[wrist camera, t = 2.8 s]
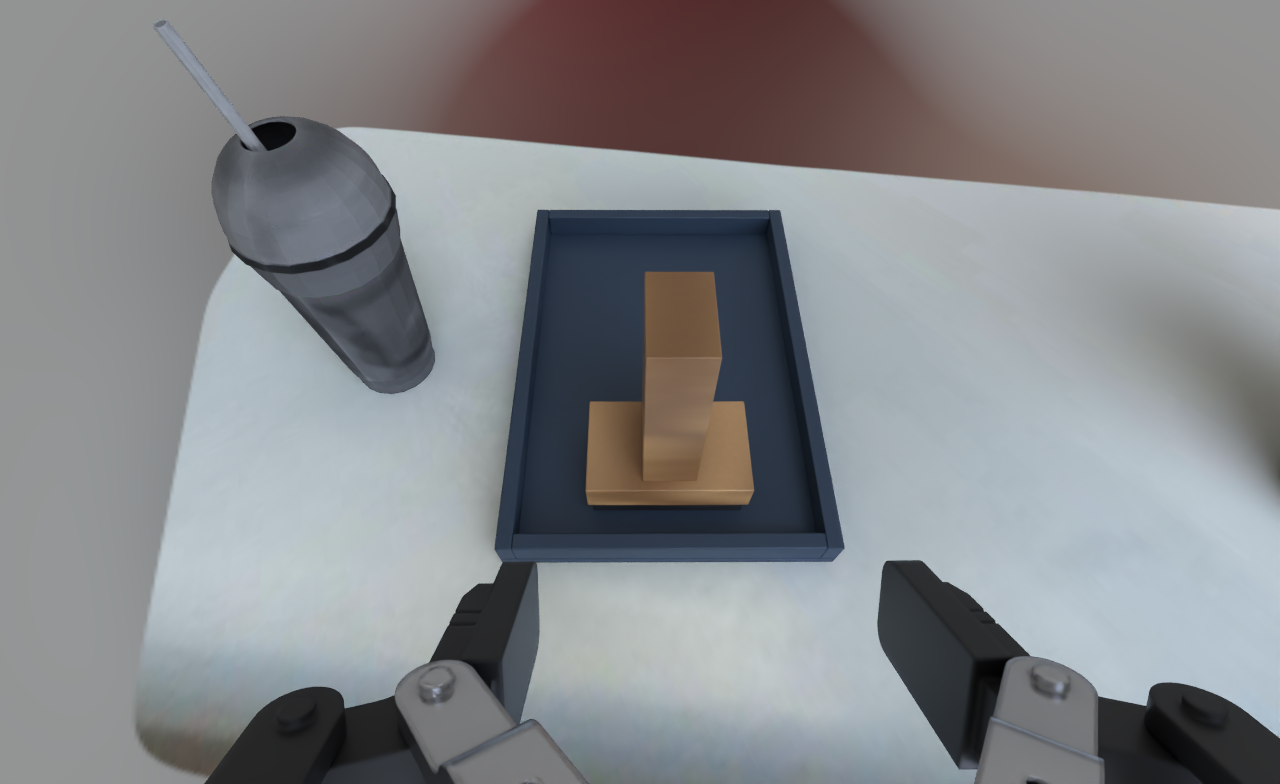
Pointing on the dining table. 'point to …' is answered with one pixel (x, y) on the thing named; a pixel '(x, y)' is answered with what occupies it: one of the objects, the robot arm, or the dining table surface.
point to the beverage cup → (319, 234)
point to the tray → (612, 372)
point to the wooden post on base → (672, 413)
